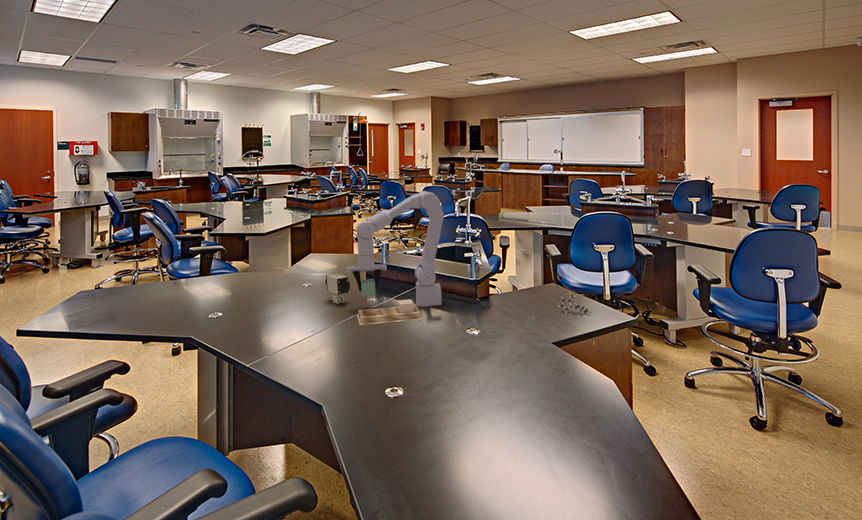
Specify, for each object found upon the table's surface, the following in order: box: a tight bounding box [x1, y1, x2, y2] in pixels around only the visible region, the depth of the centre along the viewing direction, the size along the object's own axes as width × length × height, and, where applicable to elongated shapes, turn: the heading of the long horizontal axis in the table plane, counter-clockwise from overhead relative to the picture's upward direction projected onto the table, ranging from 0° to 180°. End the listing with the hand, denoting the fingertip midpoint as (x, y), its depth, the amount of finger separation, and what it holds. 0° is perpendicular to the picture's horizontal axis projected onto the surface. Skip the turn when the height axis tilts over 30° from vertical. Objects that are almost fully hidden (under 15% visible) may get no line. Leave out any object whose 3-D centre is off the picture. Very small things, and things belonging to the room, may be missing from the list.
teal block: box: [360, 278, 376, 297], centre depth 186 cm, size 5×5×5 cm
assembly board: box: [356, 304, 424, 326], centre depth 178 cm, size 22×12×3 cm, turn 103°
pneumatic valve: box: [324, 273, 351, 305], centre depth 200 cm, size 6×12×12 cm, turn 41°
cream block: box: [396, 299, 415, 314], centre depth 179 cm, size 5×5×5 cm
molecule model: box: [557, 291, 592, 316], centre depth 181 cm, size 6×12×8 cm, turn 76°
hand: (367, 290), depth 186 cm, fingers closed on teal block, 5 cm apart
